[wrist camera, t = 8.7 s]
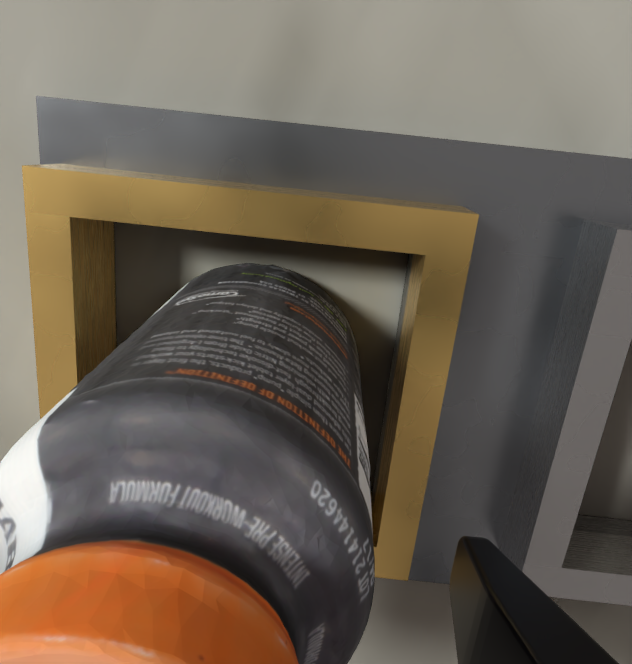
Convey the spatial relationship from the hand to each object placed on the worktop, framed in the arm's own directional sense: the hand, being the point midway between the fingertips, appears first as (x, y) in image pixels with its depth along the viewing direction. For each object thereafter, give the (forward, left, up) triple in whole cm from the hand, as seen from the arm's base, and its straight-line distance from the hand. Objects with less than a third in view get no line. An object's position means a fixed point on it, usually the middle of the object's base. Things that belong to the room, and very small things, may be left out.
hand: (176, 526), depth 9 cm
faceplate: (0, -7, -8) cm, 10 cm away
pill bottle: (0, 0, -8) cm, 8 cm away
